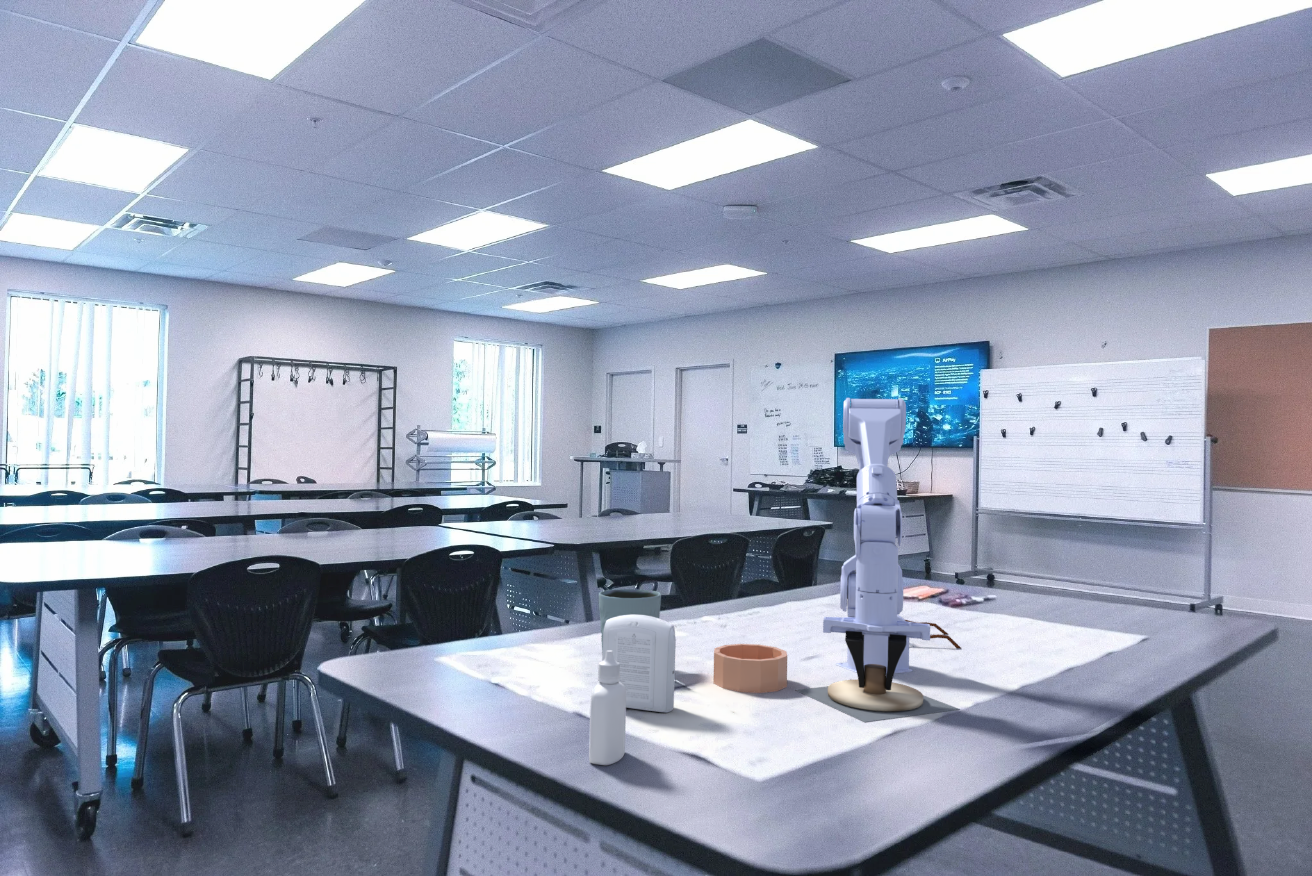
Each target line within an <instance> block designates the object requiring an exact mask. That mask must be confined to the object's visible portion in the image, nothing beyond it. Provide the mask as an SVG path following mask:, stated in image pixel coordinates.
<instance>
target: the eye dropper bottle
mask: <svg viewBox="0 0 1312 876" xmlns="http://www.w3.org/2000/svg"><path fill="white" fill-rule="evenodd" d="M597 672H598V673H597V675H598V676H597V678H598V679H597V680H598V682H597V684H596V685H595V686H594V688H593V689H592V691H591V695H590V702H589V703H590V704H589V705H590V706H589V737H588V738H589V740H588V741H589V744H588V760H589V763H590V764H593V765H600V766H610V765H612V764H615V763H617V762H619V761H621V760H622V758H623V757H624V755H625V753H626V724H627V723H626V722H627V721H626V719H627V717H626V715H627V708H626V688H625V686H624V685H623V684H622V683H620V682H619V681H620V663H619V662H617V661H615V660H614V656H613V651H612V650H607V651H606V655H605V659H604V660H603V661H602V660H601V661H600V662H598V671H597Z"/></svg>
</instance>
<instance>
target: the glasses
mask: <svg viewBox="0 0 1312 876" xmlns="http://www.w3.org/2000/svg"><path fill="white" fill-rule="evenodd" d="M904 620H905V621H906V622H914V623H918V622H916V621H913V620H908V619H904ZM919 623H922V624H930V627H934V628H935V629H937V630H938V631H939V632H940V633H942V634H938V633H937V634H930V640H931V639H944V640H945V639H946V640H947V641H948V642H949V643H950V644H951V645H953V646H954V647H955V649H962V646H960V645H958V643H957V642H956V641H955V640H954V639H953V638H952V637H951V636H949V633H948V632H947V631H945V630H944V629H943V628H942V627H941V626H939V625H938V624H937V623H933V622H927V621H926V622H919Z"/></svg>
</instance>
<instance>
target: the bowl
mask: <svg viewBox="0 0 1312 876" xmlns="http://www.w3.org/2000/svg"><path fill="white" fill-rule="evenodd" d="M712 684H713V685H715V686H716V687H719V688H721V689H723V690H729V691H733V692H738V693H753V694H756V693H757V694H763V693H764V694H765V693H771V692H779V691H781V690H784V689H785V688H787V687H788V652H787V650H785V649H781V648H780V647H776V646H771V645H770V646H769V645H764V644H757V643H756V644H755V643H734V644H723V645H720V646H718V647H714V650H713V683H712Z"/></svg>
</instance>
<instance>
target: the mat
mask: <svg viewBox="0 0 1312 876" xmlns="http://www.w3.org/2000/svg"><path fill="white" fill-rule="evenodd" d="M828 686H829V685H828ZM828 686H827V685H826V686H819V687H810V688H800V689H795V690H794V691H795V692H797V693H800V694H802V695H804V696H806V697H808V698H810V699H812V700H814V701H817V702H819V703H822V704H823V705H825V706H828V707H829V708H832V709H834V710H837V711H839V712H840V713H843V714H846V715H847V716H850V717H851V718H854V719H855V720H858V721H860V722H862V723H872V722H880V721H885V720H893V719H899V718H900V719H902V718H909V717H917V716H923V715H924V716H925V715H930V714H937V713H946V712H953V711H960V710H961V709H960V708H958V707H955V706H953V705H950V704H947V703H945V702H942V701H940V700H937V699H934V698H932V697H929V696H927V695H924V694H923V704H922V705H921V706H920V707H918V708H915V709H911V710H904V711H876V710H867V709H860V708H855V707H851V706H847V705H844V704H841V703H838V702H836V701H834V700H832V699H831V698H830V697H829V696H828Z"/></svg>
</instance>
